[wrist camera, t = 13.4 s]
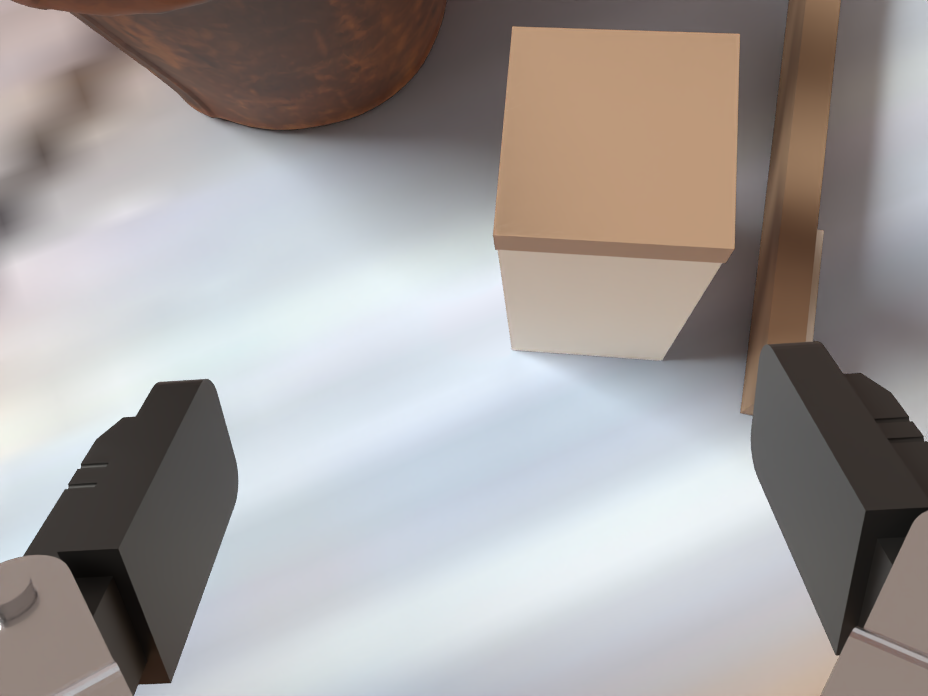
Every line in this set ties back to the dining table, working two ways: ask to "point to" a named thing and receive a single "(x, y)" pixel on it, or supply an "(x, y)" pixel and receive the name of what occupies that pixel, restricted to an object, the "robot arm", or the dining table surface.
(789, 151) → the rail
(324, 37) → the brown round rimmed container
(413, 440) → the dining table surface
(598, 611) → the dining table surface
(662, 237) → the sugar carton
